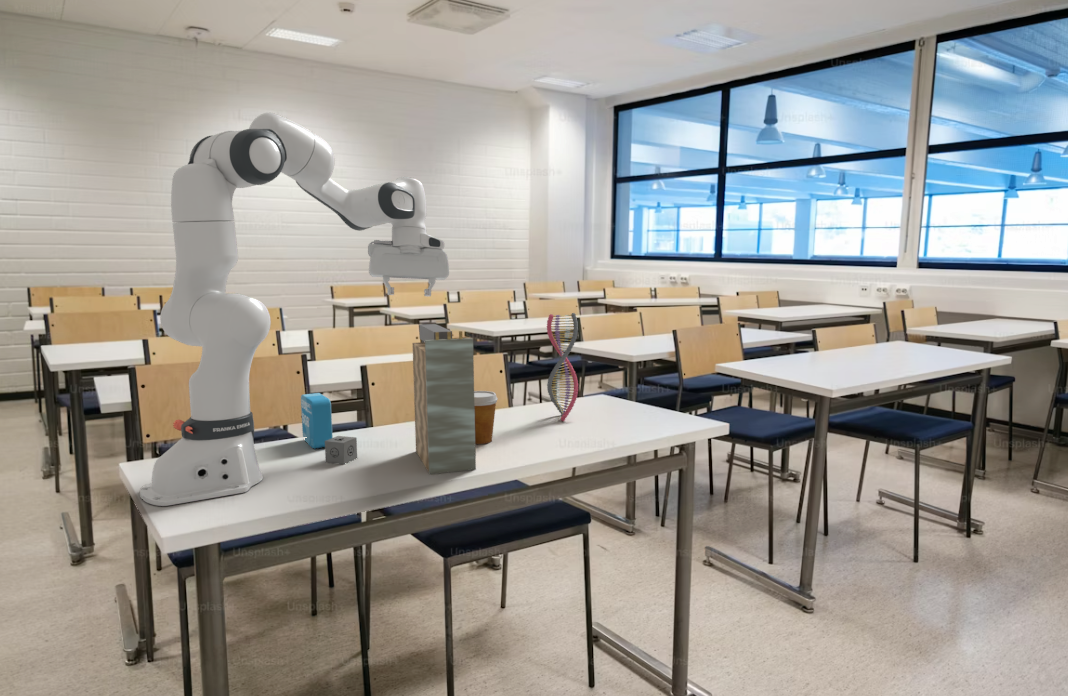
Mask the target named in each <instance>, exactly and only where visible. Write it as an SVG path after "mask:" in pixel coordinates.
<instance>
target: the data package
mask: <svg viewBox="0 0 1068 696" xmlns="http://www.w3.org/2000/svg"><path fill="white" fill-rule="evenodd" d="M300 406H301V407H300V409H301V410H300V411H301V427H302V428H301V429H302V430H301V431H302V438H303V437H307V438H305V441H306V442H307V443H308V444H307V443H306V442H305V441H304V442H305V443H306V444H307V445H308V446H309V447H311V448H312V449H313V448H314V449H313V450H316V448H317V449H323V448H322V447H324V448H325V441H326V440H329V439H331V438H334V437H333V422H332V421H333V417H332V415H333V414H332V403H331V399H330V397H329V398H328V397H326V396H325V395H324V394H322V393H320V392H313V393H306V394H301V396H300Z"/></svg>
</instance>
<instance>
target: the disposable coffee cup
mask: <svg viewBox="0 0 1068 696" xmlns="http://www.w3.org/2000/svg"><path fill="white" fill-rule="evenodd" d="M498 399H499V398H498V397H497V394H496V392H494V391H489V390H488V391H487V390H474V407H475V445H484V444H489V443H491V442H492V441H493V434H494V425H495V423H494V422H495V416H496V415H495V414H496V406H497V403H498Z"/></svg>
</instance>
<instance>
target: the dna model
mask: <svg viewBox="0 0 1068 696" xmlns="http://www.w3.org/2000/svg"><path fill="white" fill-rule="evenodd" d="M561 317H562V318H561ZM577 317H578V316H577V314H576V313H575V312H573V313H571V314H565V315H560V314H556V315H553V314H551V313H550V314H549V315H548V318H547V320H546V330H547V331H546V332H547V336H548V339H549V341H550V342H551V344H552V346H553V347H554V349H555V351H556V352H557V353H558V354H559V355H558V356H560V358H559V360H558V361H557V363H555V365H554V367H553V368H552V371H550V374H549V377H548V380H547V384H546V386H547V387H546V388H547V389H546V390H547V393H548V396H549V398H550V401H551V402H552V403H553V405H554V406H555V408H556V410H557V411H558V412H559V413H560V415H561V417H560V421H561V422H565V421H566V419H567V417H568V416H569V415H570V413H571V412H572V410H573V407H574V406H575V404H576V400H577V398H578V394H579V393H578V392H579V383H578V382H579V381H578V377H577V373H576V371H575V369H574V368H573V365H572V363H571V362H570V360H569V359H568V356H569V354H570V352H571V351H572V349H573V347H574V346H575V343H576V340H577V338H578V334H579V322H578V319H577ZM569 333H570V334H569ZM566 344H568V345H566ZM571 391H573V392H571ZM558 393H560V394H558ZM561 393H562V394H561ZM561 401H562V402H561Z"/></svg>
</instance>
